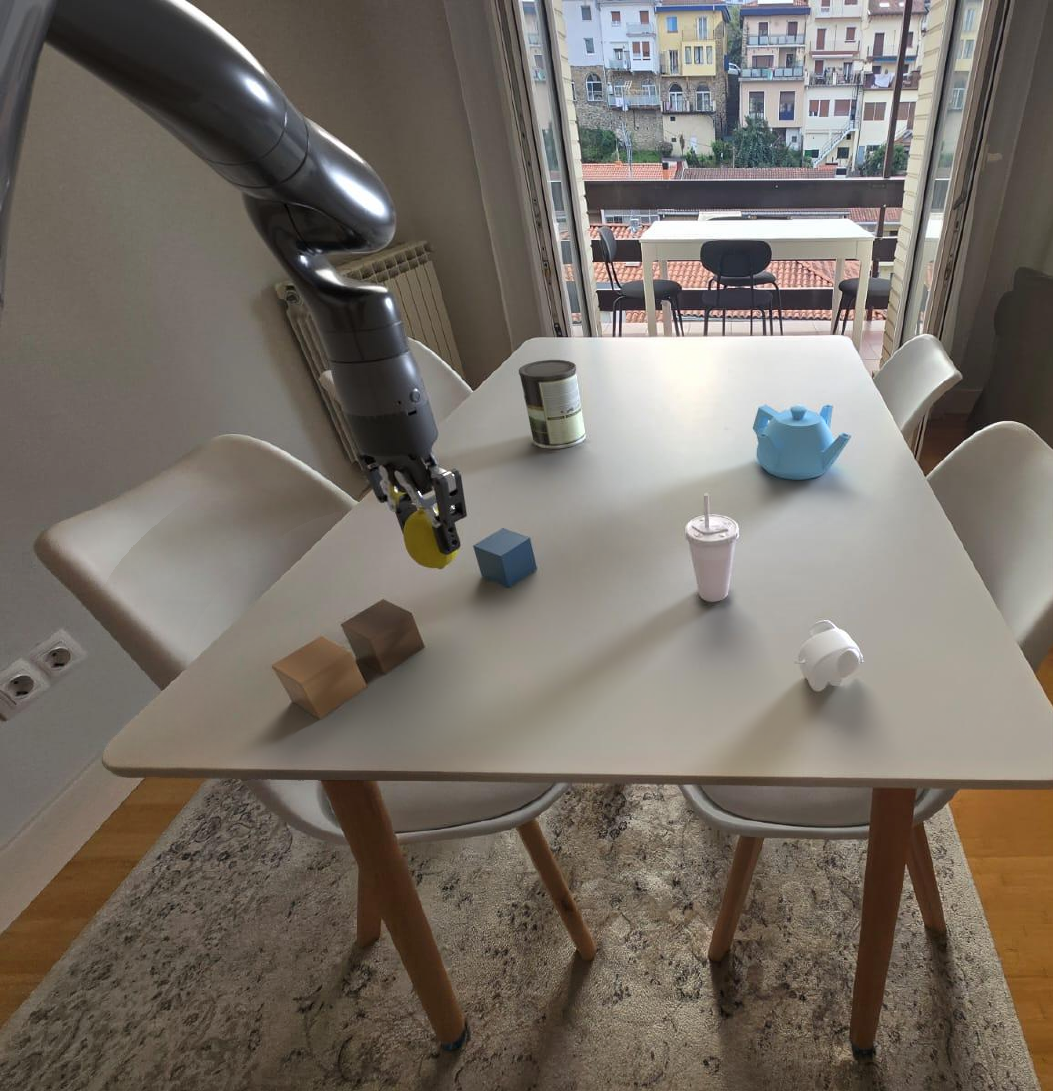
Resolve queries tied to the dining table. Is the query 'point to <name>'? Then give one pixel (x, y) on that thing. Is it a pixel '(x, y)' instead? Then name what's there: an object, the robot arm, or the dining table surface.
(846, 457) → the dining table surface
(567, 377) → the coffee can
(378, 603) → the block
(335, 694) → the block
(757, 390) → the dining table surface
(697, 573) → the smoothie
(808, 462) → the teapot
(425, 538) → the lemon
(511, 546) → the block
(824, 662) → the white rounded piece
